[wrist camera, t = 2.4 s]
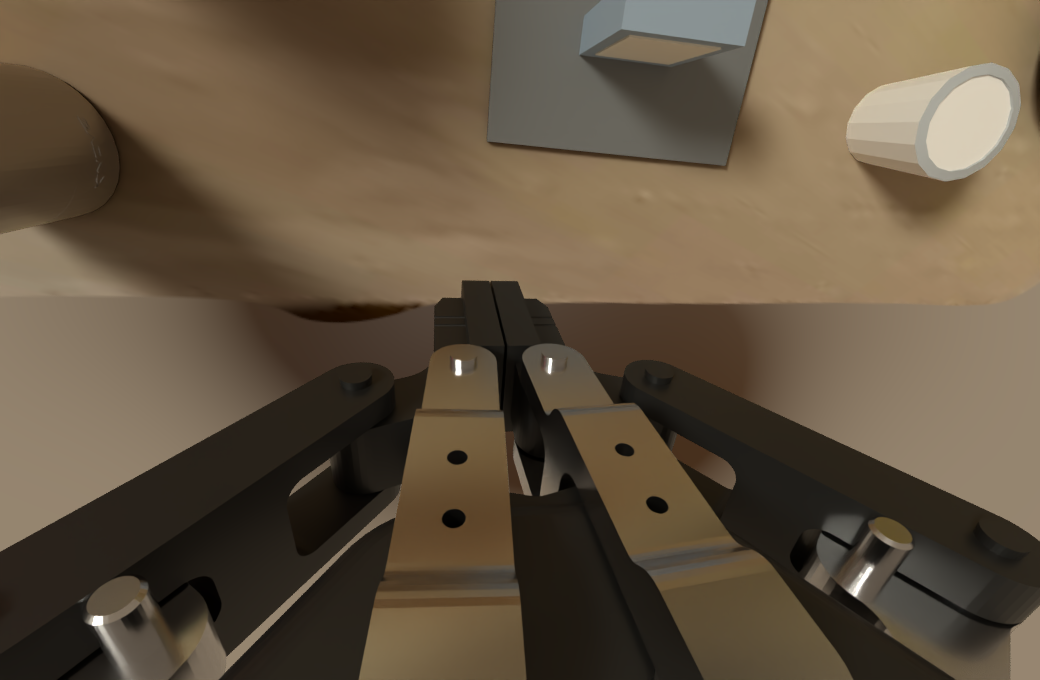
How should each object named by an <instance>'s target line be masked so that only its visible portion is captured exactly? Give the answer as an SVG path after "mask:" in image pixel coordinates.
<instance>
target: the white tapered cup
mask: <svg viewBox="0 0 1040 680" xmlns="http://www.w3.org/2000/svg"><path fill="white" fill-rule="evenodd" d="M1020 106H1021V99H1020V89H1019V83H1018V81H1017V80H1016V79H1015V77H1014V76H1013V74H1012V73H1011V71H1010V70H1009V69H1008V68H1005V67H1002V66H1000V65H997V64H994V63H987V64H981V65H975V66H969V67H965V68H960V69H955V70H951V71H946V72H942V73H937V74H932V75H928V76H923V77H919V78H914V79H909V80H905V81H900V82H895V83H891V84H886V85H882V86H879V87H878V88H876V89H875V90H873V91H871V92H870V93H868V94H867V95H866V96H865V97H864V98H863V99H862V100H861V101H860V103H859V104H858V105H857V106H856V107H855V109H854V111H853V113H852V115H851V117H850V120H849V122H848V126H847V134H846V141H847V145H848V149H849V152H850V153H851V154H852V155H853V156H854V157H855V159H856V160H857V161H861V162H864V163H867V164H871V165H876V166H880V167H884V168H889V169H893V170H897V171H902V172H906V173H910V174H915V175H919V176H924V177H928V178H932V179H937V180H941V181H951V180H957V179H962V178H966V177H967V176H969V175H971V174H973V173H974V172H976V171H978V170H980V169H981V168H983V167H985V166H986V165H987V164H988V163H989V162H990V161H991V160H992V159H993V158H994V157H995V156H996V155H997V154H998V153H999V152H1000V151H1001V150H1002V148H1003V146H1004V145H1005V143H1006V141H1007V140H1008V138H1009V136H1010V135H1011V133H1012V131H1013V130H1014V128H1015V125H1016V121H1017V117H1018V114H1019V110H1020Z"/></svg>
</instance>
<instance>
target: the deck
mask: <svg viewBox="0 0 1040 680" xmlns="http://www.w3.org/2000/svg"><path fill="white" fill-rule="evenodd" d="M755 3H756V0H601V1H600V2H599V3H598V4H597V5H596V6H594V7H593V8H592V9H591V10H590V11H589V12H588V13H587V14H586V15H585V16H584V20H583V28H582V36H581V44H580V52H579V55H583V56H591V57H598V58H606V59H614V60H621V61H629V62H637V63H644V64H652V65H660V66H667V67H673V66H676V65H680V64H684V63H687V62H691V61H694V60H698V59H701V58H705V57H709V56H712V55H716V54H719V53H723V52H726V51H730V50H734V49H737V48H741V47H744V46H745V43H746V39H747V35H748V31H749V27H750V23H751V19H752V15H753V11H754V7H755Z"/></svg>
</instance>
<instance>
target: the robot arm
mask: <svg viewBox="0 0 1040 680" xmlns="http://www.w3.org/2000/svg"><path fill="white" fill-rule="evenodd" d="M119 170H120V165H119V157H118V151H117V148H116V145H115V142H114V139H113V136H112V134H111V132H110V130H109V129H108V127H107V125H106V123H105V121H104V120H103V119H102V117H101V116H100V115H99V113H98V112H97V111H96V110H95V108H94V107H93V106H92V105H91V104H90V103H89V102H88V101H87V100H86V99H85V98H84V97H83V96H82V95H81V94H80V93H79V92H78V91H76V90H75V89H73V88H72V87H70V86H69V85H68V84H66V83H65V82H63V81H62V80H60V79H58V78H56V77H54V76H52V75H50V74H48V73H46V72H44V71H41V70H37V69H34V68H31V67H27V66H23V65H15V64H8V63H0V234H3V233H7V232H11V231H16V230H20V229H24V228H29V227H33V226H38V225H42V224H47V223H51V222H55V221H59V220H64V219H68V218H72V217H76V216H80V215H84V214H87V213H89V212H92V211H95V210H96V209H98V208H99V207H101V206H102V205H103V204H105V203H106V202H107V201H108V199H109V198H110V197H111V195H112V194H113V193H114V190H115V188H116V185H117V183H118V178H119ZM434 313H435V315H434V317H435V319H434V353H433V355H432V356H431V358H430V363H429V367H427V368H426V369H425V370H423V371H422V372H420V373H418V374H416V375H413V376H409V377H405V378H401V379H396V380H394V376H393V374H392V373H391V371H390V370H388V369H387V368H385V367H383V366H381V365H378V364H373V363H351V364H346V365H342V366H339V367H336V368H334V369H332V370H330V371H328V372H326V373H324V374H322V375H321V376H319V377H317V378H315V379H313V380H312V381H310V382H308V383H306V384H304V385H302V386H301V387H299V388H297V389H295V390H294V391H292V392H290V393H288V394H286V395H284V396H283V397H281V398H279V399H277V400H275V401H273V402H272V403H270V404H268V405H266V406H264V407H263V408H261V409H259V410H257V411H255V412H253V413H252V414H250V415H248V416H246V417H245V418H243V419H241V420H239V421H237V422H235V423H233V424H232V425H230V426H228V427H226V428H224V429H223V430H221V431H219V432H217V433H215V434H213V435H212V436H210V437H208V438H206V439H204V440H203V441H201V442H199V443H197V444H195V445H193V446H192V447H190V448H188V449H186V450H185V451H183V452H181V453H179V454H177V455H175V456H174V457H172V458H170V459H168V460H166V461H165V462H163V463H161V464H159V465H157V466H155V467H154V468H152V469H150V470H148V471H146V472H145V473H143V474H141V475H139V476H137V477H135V478H134V479H132V480H130V481H128V482H126V483H124V484H123V485H121V486H119V487H117V488H115V489H114V490H112V491H110V492H108V493H106V494H104V495H103V496H101V497H99V498H97V499H95V500H94V501H92V502H90V503H88V504H87V505H85V506H83V507H81V508H79V509H78V510H75V511H74V512H72V513H70V514H68V515H66V516H65V517H63V518H61V519H59V520H57V521H55V522H54V523H52V524H50V525H48V526H46V527H45V528H43V529H41V530H39V531H37V532H35V533H34V534H32V535H30V536H28V537H26V538H25V539H23V540H21V541H19V542H17V543H15V544H14V545H12V546H10V547H8V548H6V549H5V550H3V551H1V552H0V680H1010V634H1011V633H1012V632H1013V631H1014V630H1015V629H1016V628H1017V627H1018V626H1019V625H1020V624H1021V623H1022V622H1023V621H1024V620H1025V619H1026V618H1027V617H1028V616H1029V615H1030V614H1031V613H1032V612H1033V611H1034V610H1035V609H1036V608H1038V607H1039V605H1040V541H1038V540H1037V539H1036V538H1035V537H1033V536H1032V535H1030V534H1029V533H1028V532H1026V531H1024V530H1023V529H1021V528H1020V527H1018V526H1016V525H1015V524H1013V523H1011V522H1010V521H1008V520H1006V519H1004V518H1002V517H1000V516H997V515H995V514H993V513H991V512H989V511H987V510H985V509H982V508H980V507H978V506H976V505H974V504H971V503H969V502H967V501H965V500H963V499H961V498H959V497H956V496H954V495H952V494H950V493H948V492H946V491H943V490H941V489H939V488H937V487H935V486H932V485H930V484H928V483H926V482H924V481H922V480H919V479H917V478H915V477H913V476H911V475H909V474H906V473H904V472H902V471H900V470H898V469H896V468H893V467H891V466H889V465H887V464H885V463H883V462H880V461H878V460H876V459H874V458H872V457H870V456H867V455H865V454H863V453H861V452H859V451H856V450H854V449H852V448H850V447H848V446H845V445H843V444H841V443H839V442H837V441H835V440H832V439H830V438H828V437H826V436H824V435H822V434H819V433H817V432H815V431H813V430H811V429H809V428H807V427H804V426H802V425H800V424H798V423H796V422H794V421H791V420H789V419H787V418H785V417H783V416H780V415H778V414H776V413H774V412H772V411H770V410H767V409H765V408H763V407H761V406H759V405H757V404H754V403H752V402H750V401H748V400H746V399H744V398H741V397H739V396H737V395H735V394H732V393H731V392H728V391H726V390H724V389H722V388H720V387H717V386H715V385H713V384H711V383H708V382H707V381H704V380H702V379H700V378H698V377H696V376H694V375H691V374H689V373H687V372H685V371H683V370H681V369H678V368H676V367H674V366H672V365H669V364H666V363H663V362H659V361H653V360H640V361H635V362H632V363H630V364H629V365H627V367H626V368H625V371H624V376H623V377H617V376H611V375H606V374H600V373H596V372H593V371H592V369H591V368H590V366H589V364H588V363H587V361H586V360H585V358H584V357H583V356H582V355H581V354H580V353H579V352H577V351H576V350H574V349H572V348H570V347H567V346H565V344H564V342H563V340H562V338H561V335H560V333H559V331H558V329H557V327H556V326H555V322H554V320H553V319H552V316H551V313H550V311H549V309H548V307H546V306H545V305H544V304H543V303H541V302H540V301H539V300H537V299H524V297H523V294H522V292H521V289H520V286H519V284H518V282H517V281H491V282H489V281H464V280H462V291H461V298H442V299H441V300H440V301H439V302H438V303H437V304H436V305H435V311H434ZM506 431H513V432H514V437H515V438H514V449H513V459H514V462H515V465H516V469H517V472H518V475H519V479H520V482H521V485H522V489H523V492H524V495H522V494H515V493H509V482H508V468H507V454H506V442H505V441H506V440H505V432H506ZM677 434H679V435H681V436H683V437H685V438H686V439H688V440H690V441H692V442H694V443H695V444H697V445H699V446H701V447H703V448H705V449H707V450H708V451H710V452H712V453H714V454H716V455H718V456H719V457H721V458H723V459H724V460H726V461H727V462H728V463H729V464H730V465H731V466H732V468H733V469H734V471H735V474H736V483H735V485H734V488H733V490H731V489H728V488H726V487H724V486H722V485H720V484H718V483H717V482H715V481H713V480H712V479H710V478H708V477H706V476H705V475H703V474H701V473H700V472H698V471H696V470H694V469H693V468H691V467H689V466H687V465H686V464H684V463H682V462H680V461H679V460H677V459H676V458H675V456H674V455H673V454H672V452H671V451H672V448H673V445H674V442H675V439H676V436H677ZM329 458H330V463H331V466H329V467H328V468H327V469H325V470H324V471H323V472H321V473H320V474H319V475H317V476H316V477H315V478H314V479H312V480H311V481H309V482H308V483H307V484H306V485H304V486H303V487H301V488H300V489H299V490H297V491H296V492H295V493H293V494H292V495H291V496H289V495H290V493H291V491H292V489H293V488H294V486H295V485H296V484H297V483H298V482H299V481H300V480H301V479H302V478H303V477H305V476H306V475H308V474H309V473H310V472H312V471H313V470H314V469H316V468H317V467H318V466H320V465H321V464H323V463H324V462H325V461H327V460H328V459H329ZM401 484H402V485H401ZM400 485H401V490H400ZM399 490H400V496H399V501H398V506H397V511H396V517H395V518H394V519H391V520H389V521H387V522H385V523H383V524H381V525H379V526H378V527H376V528H375V529H373V530H372V531H370V532H368V533H367V534H365V535H364V536H363V537H362V538H360V539H359V540H358V541H357V542H355V543H354V544H353V545H352V546H351V547H350V548H349V549H348V550H347V551H346V552H344V553H343V554H342V555H341V556H340V557H339V559H338V560H337V561H336V562H335V563H334V564H333V565H332V566H331V567H330V568H329V569H328V570H327V571H326V572H325V573H324V574H323V575H322V576H321V577H320V578H319V579H318V580H317V581H316V582H315V583H314V584H313V585H312V586H311V587H310V588H309V589H308V590H307V591H306V592H305V593H304V594H303V595H302V596H301V597H300V598H299V599H298V600H297V601H296V602H295V603H294V604H293V605H292V606H291V607H290V608H289V609H288V610H287V611H286V612H285V613H284V614H283V615H282V616H281V617H280V618H279V619H278V620H277V621H276V622H275V623H274V624H273V625H272V626H271V627H270V628H269V629H268V630H267V631H266V632H265V633H264V634H263V635H262V636H261V637H260V638H259V639H258V640H257V641H256V642H255V643H254V644H253V645H252V646H251V647H250V648H249V649H248V650H247V651H246V652H245V653H244V654H243V655H242V656H241V657H240V658H239V659H238V660H237V661H236V662H235V664H233V666H231V667H230V669H228V670H227V671H226V672H225V668H226V657H227V656H228V655H229V654H230V653H231V652H232V651H233V650H234V649H235V648H236V647H237V646H238V645H239V644H241V643H242V642H243V641H244V640H245V639H246V638H247V637H248V636H249V635H250V634H251V633H252V632H253V631H254V630H255V629H257V628H258V627H259V626H260V625H261V624H262V623H263V622H264V621H265V620H266V619H267V618H268V617H269V616H270V615H271V614H273V613H274V612H275V611H276V610H277V609H278V608H279V607H280V606H281V605H282V604H283V603H284V602H285V601H286V600H287V599H288V598H290V597H291V596H292V595H293V594H294V593H295V592H296V591H297V590H298V589H299V588H300V587H301V586H302V585H303V584H304V583H306V582H307V581H308V580H309V579H310V578H311V577H312V576H313V575H314V574H315V573H316V572H317V571H318V570H319V569H320V568H322V567H323V566H324V565H325V564H326V563H327V562H328V561H329V560H330V559H331V558H332V557H333V556H334V555H335V554H337V553H338V552H339V551H340V550H341V549H342V548H343V547H344V546H345V545H346V544H347V543H348V542H349V541H350V540H351V539H353V538H354V537H355V536H356V535H357V534H358V533H359V532H360V531H361V530H362V529H363V528H364V527H365V526H366V525H367V524H369V522H371V521H372V520H373V519H374V518H375V517H376V516H377V515H378V514H379V513H380V512H381V511H382V510H383V509H385V508H386V507H387V506H388V505H389V504H390V503H391V502H392V501H393V500H394V499H395V498H396V496H397V495H398V493H399Z"/></svg>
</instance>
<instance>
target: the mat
mask: <svg viewBox="0 0 1040 680" xmlns="http://www.w3.org/2000/svg"><path fill="white" fill-rule="evenodd" d="M600 1H601V0H496V4H495V20H494V35H493V51H492V67H491V82H490V98H489V114H488V129H487V141H489V142H499V143H508V144H518V145H528V146H538V147H547V148H557V149H567V150H577V151H586V152H596V153H606V154H616V155H625V156H635V157H645V158H654V159H664V160H674V161H684V162H693V163H703V164H713V165H723V166H726V162H727V158H728V154H729V151H730V147H731V143H732V139H733V135H734V131H735V127H736V123H737V119H738V116H739V112H740V108H741V104H742V100H743V96H744V92H745V88H746V84H747V81H748V77H749V73H750V69H751V65H752V61H753V57H754V53H755V49H756V46H757V42H758V38H759V34H760V30H761V26H762V22H763V18H764V14H765V11H766V7H767V3H768V0H756V3H755V7H754V11H753V15H752V19H751V23H750V27H749V31H748V35H747V39H746V43H745V46H744V47H741V48H737V49H734V50H730V51H726V52H723V53H719V54H716V55H712V56H709V57H705V58H701V59H698V60H694V61H691V62H687V63H684V64H680V65H676V66H673V67H667V66H660V65H652V64H644V63H637V62H629V61H621V60H614V59H606V58H598V57H591V56H583V55H579V52H580V44H581V36H582V28H583V20H584V16H585V15H586V14H587V13H588V12H589V11H590V10H591V9H592V8H593V7H594V6H596V5H597V4H598V3H599V2H600Z"/></svg>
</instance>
